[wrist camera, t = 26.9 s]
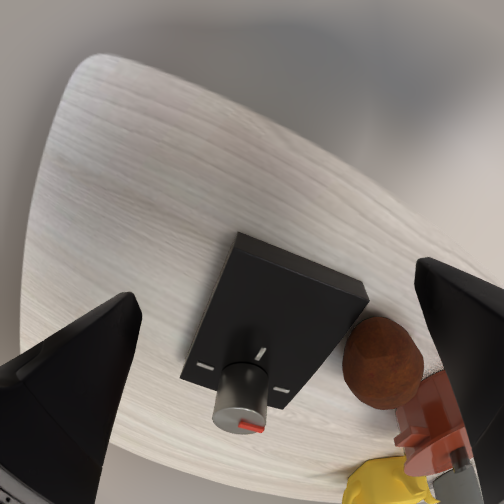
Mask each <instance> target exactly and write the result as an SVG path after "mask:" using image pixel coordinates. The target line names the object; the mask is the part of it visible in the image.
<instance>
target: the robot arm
mask: <svg viewBox="0 0 504 504" xmlns="http://www.w3.org/2000/svg"><path fill="white" fill-rule="evenodd" d="M414 286H415V291H416V294H417V297H418V300H419V302H420V306H421V309H422V312H423V315H424V318H425V321H426V324H427V327H428V330H429V332H430V335H431V337H432V339H433V342H434V344H435V346H436V349H437V351H438V354H439V356H440V359H441V361H442V364H443V366H444V369H445V371H446V374H447V376H448V379H449V382H450V384H451V387H452V390H453V393H454V395H455V398H456V401H457V404H458V407H459V410H460V413H461V416H462V419H463V422H464V425H465V429H466V432H467V435H468V439H469V442H470V446H471V448H472V449H471V450H472V454H473V457H474V461H475V465H476V469H477V473H478V477H479V481H480V486H481V491H482V495H483V501H484V504H504V289H502V288H500V287H497V286H495V285H493V284H491V283H489V282H486V281H484V280H482V279H480V278H477V277H475V276H473V275H471V274H468V273H466V272H464V271H461V270H459V269H457V268H455V267H452V266H450V265H447V264H445V263H443V262H440V261H438V260H436V259H433V258H431V257H425V258H420V259H418V260H417V262H416V270H415V280H414ZM141 322H142V312H141V309H140V307H139V305H138V302H137V300H136V298H135V295H134V294H133V293H132V292H122V293H119V294H118V295H116V296H114V297H113V298H111V299H110V300H108V301H106V302H105V303H103V304H101V305H100V306H98V307H96V308H95V309H93V310H91V311H90V312H88V313H87V314H85V315H83V316H82V317H80V318H78V319H77V320H75V321H74V322H72V323H70V324H69V325H67V326H66V327H64V328H62V329H61V330H59V331H58V332H56V333H54V334H53V335H51V336H50V337H48V338H46V339H45V340H44V341H42V342H40V343H39V344H37V345H35V346H34V347H32V348H31V349H29V350H27V351H26V352H24V353H22V354H21V355H19V356H17V357H16V358H14V359H12V360H10V361H9V362H7V363H5V364H4V365H2V366H0V504H95V499H96V494H97V490H98V485H99V481H100V476H101V472H102V466H103V463H104V458H105V455H106V451H107V447H108V443H109V439H110V435H111V432H112V428H113V424H114V421H115V417H116V414H117V410H118V407H119V403H120V400H121V396H122V393H123V390H124V386H125V383H126V380H127V377H128V373H129V370H130V367H131V364H132V361H133V357H134V353H135V349H136V344H137V340H138V335H139V331H140V326H141Z"/></svg>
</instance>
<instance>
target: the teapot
mask: <svg viewBox="0 0 504 504" xmlns="http://www.w3.org/2000/svg"><path fill="white" fill-rule="evenodd" d="M405 461H406V459H405V456H399V457H389V458H381V459H373V460H368V461H366V462H365V463H364V464H363V465H362V466H361V467H360V468H358V469H357V470H356V471H355V472H354V473H353V474H352V475H351V476H350V477H349V478H348V482H347V488H346V490H345V491H344V494H343V498H342V504H416V503H418V502H420V501H421V500H423V499H424V501H425V502H427V503H429V504H434V503H439V502H440V501H439V500H436V499H434V498H433V497H432V495H431V493H430V490H429V487H428V484H427V479H426V476H420V477H413V476H408V475H406V474H405V473H404V469H403V466H404V463H405Z"/></svg>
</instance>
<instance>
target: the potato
mask: <svg viewBox="0 0 504 504" xmlns="http://www.w3.org/2000/svg"><path fill="white" fill-rule="evenodd" d="M342 367H343V375H344V380H345V382H346V384H347V385H348V387H349V388H350V390H351V391H352V393H353V394H354V395H355V396H356V397H357V398H358V399H359V400H360V401H361V402H363V403H365V404H367V405H369V406H371V407H373V408H375V409H380V410H387V409H395V408H398V407H400V406H402V405H405V404H406V403H407V402H409V401H410V400H411V399H412V398H413V397H414V396H415V395H416V393H417V390H418V388H419V385H420V382H421V379H422V376H423V372H424V361H423V356H422V354H421V353H420V351H419V349H418V348H417V346H416V345H415V343H414V342H413V340H412V338H411V337H410V335H409V334H408V332H407V331H406V330H405V329H404V328H403V327H402V326H400V325H399V324H397V323H396V322H394V321H392V320H389V319H387V318H384V317H372V318H369V319H366V320H364V321H362V322H361V323H359V324H358V325H357V326H356V327H355V328H354V329H353V330H352V332H351V334H350V335H349V337H348V339H347V342H346V345H345V349H344V356H343V362H342Z"/></svg>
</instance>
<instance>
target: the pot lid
mask: <svg viewBox="0 0 504 504" xmlns="http://www.w3.org/2000/svg"><path fill="white" fill-rule="evenodd" d="M471 449H472V448H471V446H470V442H469V439H468V435H467V432H466V429H465V425H464V423H462V424H460V425H458V426H456V427H454V428H452V429H450V430H448V431H446V432H444V433H443V434H441V435H439V436H437V437H436V438H434V439H432V440H431V441H429V442H428V443H426V444H425V445H423V446H422V447H420V448H419V449H418V450H416V451H415V452H414V453H413V454H412V455H411V456H410V457H409V458H408V459H407V460H406V461H405V463H404V466H403V469H404V473H405V474H406V475H408V476H413V477H420V476H428V475H432V474H436V473H440V472H443V471H446V470H448V469H451V468H453V471H454V473H455V474H457V473H460V472H462V471H464V470H466V469H468V468H469V467H470V466H471V462H470V459H471V458H472V457H473V454H472V450H471Z"/></svg>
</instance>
